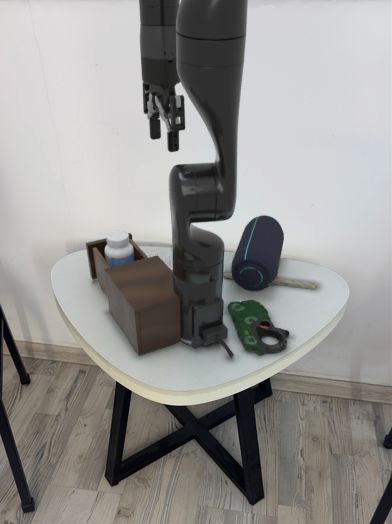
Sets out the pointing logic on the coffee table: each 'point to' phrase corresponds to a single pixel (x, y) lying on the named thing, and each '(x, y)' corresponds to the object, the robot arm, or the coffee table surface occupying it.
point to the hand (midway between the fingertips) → (164, 144)
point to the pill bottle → (118, 248)
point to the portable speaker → (258, 254)
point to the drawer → (99, 261)
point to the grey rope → (286, 282)
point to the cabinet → (144, 303)
